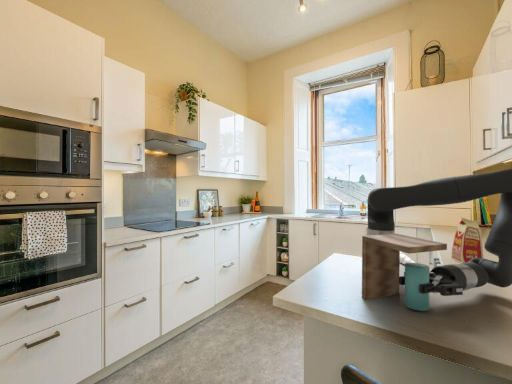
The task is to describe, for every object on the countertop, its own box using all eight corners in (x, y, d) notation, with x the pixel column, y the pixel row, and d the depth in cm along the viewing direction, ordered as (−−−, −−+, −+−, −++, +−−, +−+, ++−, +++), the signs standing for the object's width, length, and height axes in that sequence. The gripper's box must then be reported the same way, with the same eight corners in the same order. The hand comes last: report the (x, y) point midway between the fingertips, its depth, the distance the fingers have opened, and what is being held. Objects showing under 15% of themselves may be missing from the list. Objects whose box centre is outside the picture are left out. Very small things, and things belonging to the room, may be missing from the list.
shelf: (395, 292, 79) (395, 233, 79) (446, 315, 65) (446, 243, 64) (361, 297, 75) (362, 235, 75) (408, 323, 60) (408, 247, 60)
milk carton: (462, 264, 109) (463, 218, 109) (450, 258, 118) (450, 216, 118) (486, 265, 108) (487, 219, 108) (471, 259, 117) (472, 216, 117)
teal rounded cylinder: (406, 308, 67) (407, 267, 66) (402, 300, 72) (403, 261, 72) (431, 312, 64) (432, 269, 64) (426, 303, 70) (426, 263, 70)
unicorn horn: (422, 278, 93) (422, 265, 93) (390, 260, 117) (390, 249, 117) (435, 278, 93) (435, 265, 93) (401, 260, 117) (401, 250, 117)
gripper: (429, 258, 79) (387, 263, 74) (482, 272, 66) (436, 280, 60) (429, 282, 79) (387, 288, 74) (482, 301, 66) (436, 311, 60)
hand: (410, 285), depth 67 cm, fingers closed on teal rounded cylinder, 5 cm apart
